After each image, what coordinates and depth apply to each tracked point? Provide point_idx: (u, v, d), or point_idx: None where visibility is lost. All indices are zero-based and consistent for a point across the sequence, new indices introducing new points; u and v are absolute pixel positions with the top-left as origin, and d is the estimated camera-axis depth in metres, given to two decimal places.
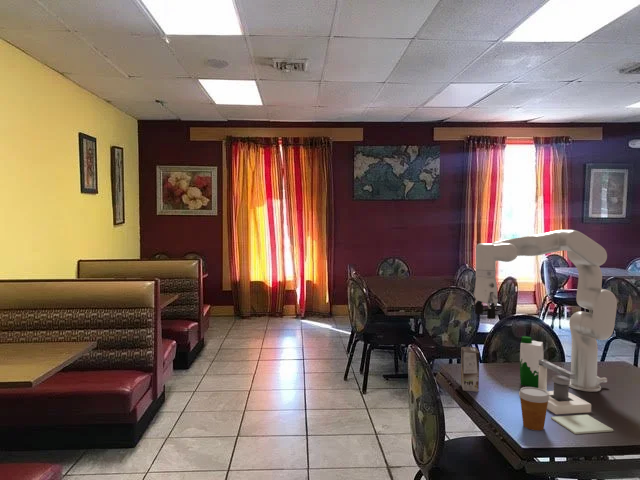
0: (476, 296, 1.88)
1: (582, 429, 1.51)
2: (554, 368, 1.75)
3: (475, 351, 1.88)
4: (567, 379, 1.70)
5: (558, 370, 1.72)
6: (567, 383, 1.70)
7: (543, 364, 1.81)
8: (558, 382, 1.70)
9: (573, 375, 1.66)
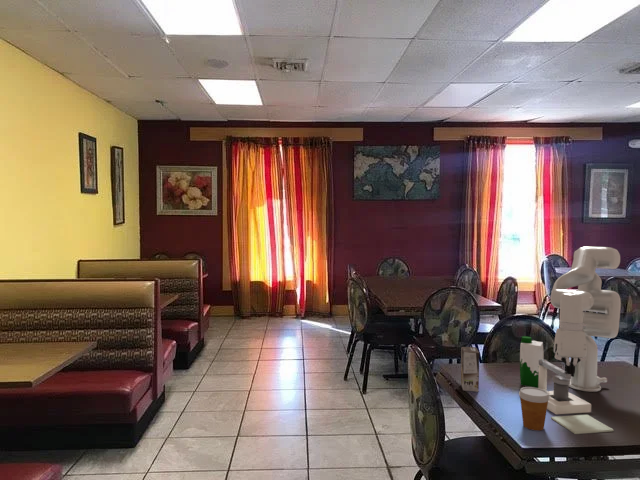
0: (564, 353, 1.68)
1: (582, 429, 1.51)
2: (552, 368, 1.75)
3: (475, 351, 1.88)
4: (567, 379, 1.70)
5: (555, 370, 1.72)
6: (567, 383, 1.70)
7: (542, 364, 1.81)
8: (558, 382, 1.70)
9: (569, 375, 1.66)
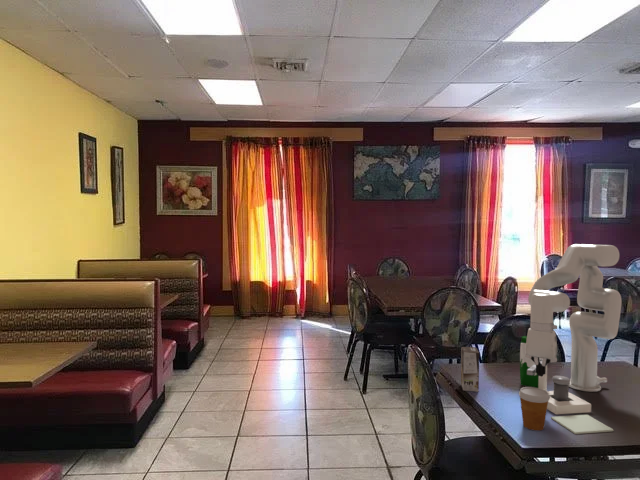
0: (530, 351, 1.71)
1: (582, 429, 1.51)
2: None
3: (475, 351, 1.88)
4: (567, 379, 1.70)
5: None
6: (567, 383, 1.70)
7: None
8: (558, 382, 1.70)
9: (530, 372, 1.70)
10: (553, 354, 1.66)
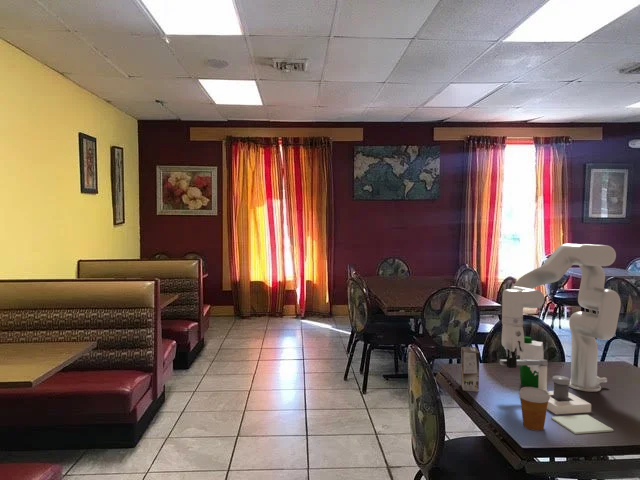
0: (503, 343, 1.83)
1: (582, 429, 1.51)
2: None
3: (475, 351, 1.88)
4: (567, 379, 1.70)
5: None
6: (567, 383, 1.70)
7: None
8: (558, 382, 1.70)
9: (501, 361, 1.83)
10: (512, 347, 1.75)
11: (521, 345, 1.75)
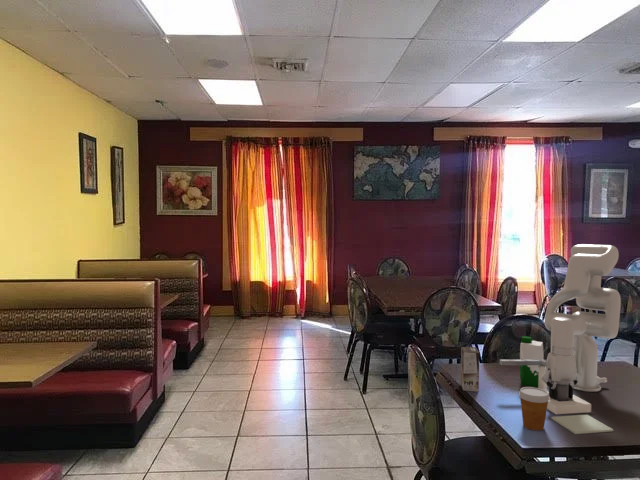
0: (557, 377, 1.70)
1: (582, 429, 1.51)
2: None
3: (475, 351, 1.88)
4: None
5: None
6: (567, 383, 1.70)
7: None
8: (558, 382, 1.70)
9: (501, 361, 1.83)
10: (575, 375, 1.71)
11: None
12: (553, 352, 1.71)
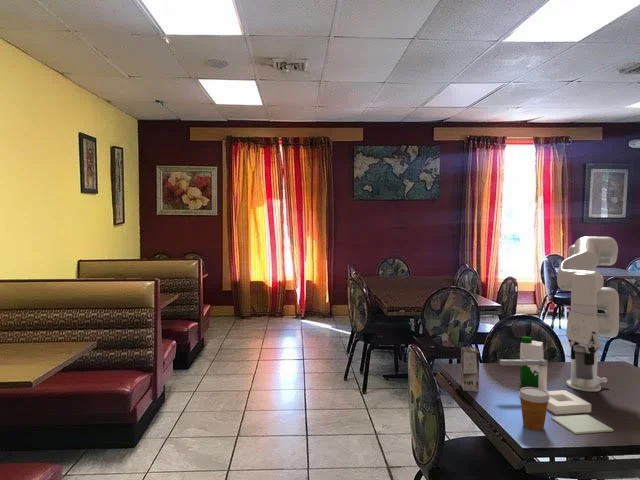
0: None
1: (582, 429, 1.51)
2: None
3: (475, 351, 1.88)
4: None
5: None
6: None
7: None
8: None
9: (501, 361, 1.83)
10: None
11: None
12: (592, 312, 1.52)
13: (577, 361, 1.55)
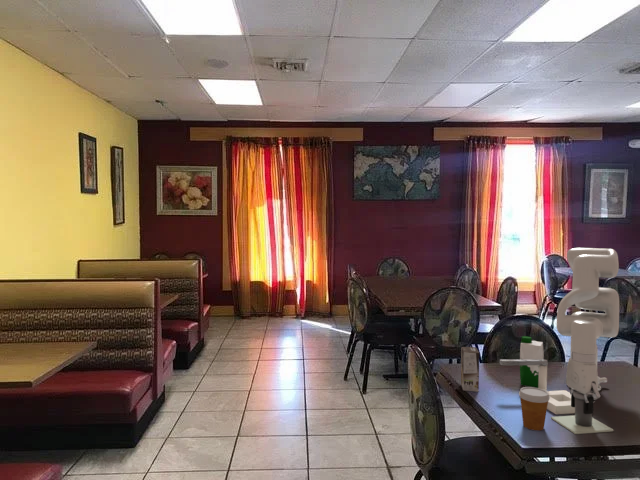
0: None
1: (582, 429, 1.51)
2: None
3: (475, 351, 1.88)
4: None
5: None
6: None
7: None
8: None
9: (501, 361, 1.83)
10: None
11: None
12: (592, 361, 1.52)
13: (577, 407, 1.55)
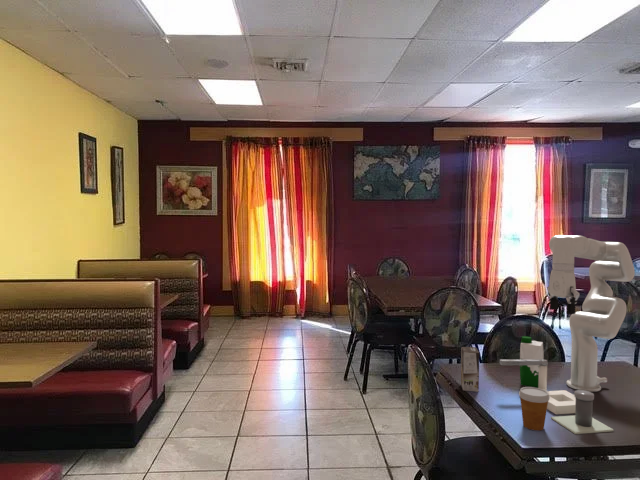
0: None
1: (582, 429, 1.51)
2: None
3: (475, 351, 1.88)
4: (587, 391, 1.57)
5: None
6: None
7: None
8: (593, 398, 1.53)
9: (501, 361, 1.83)
10: None
11: None
12: (570, 270, 1.75)
13: (577, 408, 1.55)
